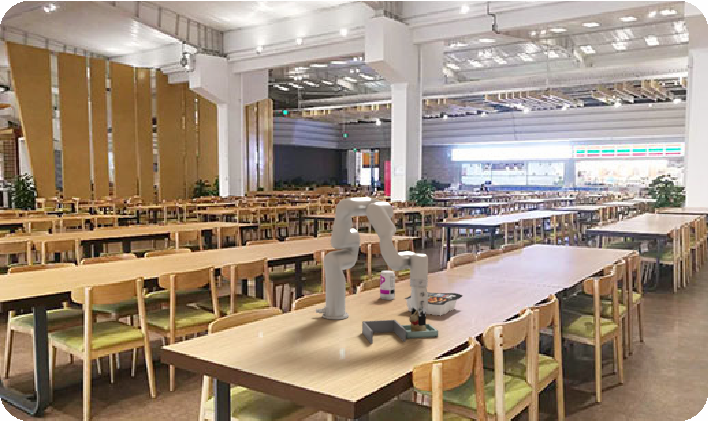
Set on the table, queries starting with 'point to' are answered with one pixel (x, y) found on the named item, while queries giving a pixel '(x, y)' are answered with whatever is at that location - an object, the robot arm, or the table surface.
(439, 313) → the food packaging
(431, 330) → the tray
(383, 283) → the supplement can
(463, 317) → the table surface
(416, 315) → the chocolate bunny
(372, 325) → the bay
